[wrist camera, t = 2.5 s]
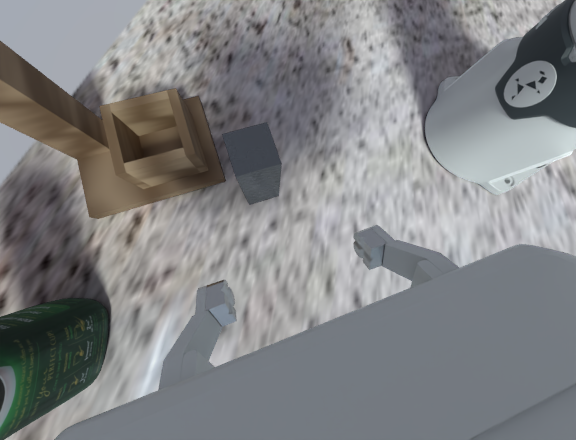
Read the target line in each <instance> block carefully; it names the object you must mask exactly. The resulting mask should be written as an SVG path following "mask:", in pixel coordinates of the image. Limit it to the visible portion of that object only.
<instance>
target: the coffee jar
mask: <svg viewBox="0 0 576 440" xmlns="http://www.w3.org/2000/svg"><path fill="white" fill-rule="evenodd" d="M107 339H108V313H107V311H106V308H105V307H104V306H103V305H102V304H100V303H99V302H97V301H95V300H91V299H85V298H67V299H60V300H55V301H51V302H47V303H43V304H40V305H36V306H33V307H30V308H26V309H23V310H20V311H17V312H14V313H11V314H8V315H5V316H2V317H0V440H4V439H6V438H7V437H9V436H11V435H12V434H14V433H15V432H17V431H18V430H20V429H22V428H23V427H25V426H26V425H28V424H30V423H31V422H33V421H35V420H36V419H38V418H40V417H41V416H43V415H45V414H46V413H48V412H50V411H51V410H53V409H54V408H56V407H58V406H59V405H61V404H63V403H64V402H66V401H67V400H69V399H71V398H72V397H74V396H75V395H77V394H78V393H80V392H81V391H83V390H84V389H86V388H87V387H88V386H89V385H91V384H92V383H93V382H94V380H95V379H96V378H97V376H98V375H99V373H100V371H101V368H102V365H103V361H104V357H105V353H106V348H107Z"/></svg>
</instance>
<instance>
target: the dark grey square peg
mask: <svg viewBox="0 0 576 440" xmlns="http://www.w3.org/2000/svg"><path fill="white" fill-rule="evenodd" d="M222 135H223V139H224V142H225V145H226V148H227V151H228V154H229V157H230V161H231V164H232V167H233V170H234V173H235V176H236V178H237V181H238V183H239V185H240V187H241V189H242V191H243V193H244V195H245V197H246V199H247V201H248V203H249V205H251V204H254V203H257V202H261V201H264V200H267V199H270V198H273V197H277V196H279V187H280V175H281V164H282V163H281V161H280V158H279V155H278V152H277V149H276V147H275V144H274V141H273V138H272V135H271V132H270V130H269V127H268V124H267V122H266V123H262V124H259V125H255V126H251V127H247V128H244V129H240V130H236V131H232V132H229V133H225V134H222Z"/></svg>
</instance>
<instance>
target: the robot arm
mask: <svg viewBox="0 0 576 440" xmlns="http://www.w3.org/2000/svg"><path fill="white" fill-rule="evenodd" d="M425 134H426V139H427V143H428V145H429V148H430V150H431V152H432V153H433V155H434V156H435V158H436V159H437V161H438V162H439V163H440V164H441V165H442V166H443V167H444V168H445V169H447V170H448V171H449V172H451V173H452V174H454V175H456V176H458V177H460V178H462V179H465V180H469V181H472V182H475V183H478V184H480V185H481V186H482V187H484V188H485V189H486V190H488V191H489V192H491V193H493V194H496V195H499V194H502V193H505V192H507V191H509V190H510V189H512V188H513V187H515V186H516V185H518V184H520V183H521V182H523V181H524V180H526V179H527V178H529V177H530V176H532V175H533V174H535V173H536V172H538V171H539V170H541V169H543V168H544V167H546V166H547V165H549V164H550V163H552V162H553V161H556V160H558V159H561V158H564V157H567V156H569V155H571V154H572V151H573V150H574V149H576V0H565V1H564V2H563V3H561V4H559V5H558V6H556V7H555V8H554V9H552V10H551V11H550V12H549V13H548V14H546V15H545V16H544V17H543V18H542V19H541V20H540V22H539V23H538V24H537V25H535V26H534V27H533V28H532V29H531V30H530V31H529V32H527V33H526V34H525V35H524V37H516V38H512V39H505V40H503V41H502V42H500V43H499V44H497V45H496V46H495V47H494V48H493V49H492V50H490V51H489V52H488V53H487V54H486V55H484V56H483V57H482V58H481V59H480V60H479V61H477V62H476V63H475V64H474V65H473V66H471V67H470V68H469V69H468V70H467V71H466V72H465V73H463V74H462V75H461V76H455V77H448V78H446V79H445V80H444V81H443V82H441V83H440V85H439V89H438V95H437V99H436V101H435V102H434V104H433V105H432V106H431V108H430V110H429V112H428V114H427V117H426V121H425ZM354 239H355V242H354V249H355V252H356V254H357V255H358V256H359V257H360V258H363V262H364V264H365V265H366V266H367V267H368V269H369V270H370V269H373V268H376V267H379V266H383V267H385V268H387V269H389V270H391V271H393V272H395V273H397V274H399V275H401V276H403V277H405V278H407V279H409V280H411V281H412V284H411V287H410V288H409V289H406V290H404V291H402V292H399V293H397V294H394V295H392V296H389V297H387V298H384V299H382V300H379V301H377V302H374V303H372V304H370V305H367V306H365V307H362V308H360V309H357V310H355V311H352V312H350V313H347V314H345V315H342V316H340V317H338V318H335V319H333V320H330V321H328V322H325V323H323V324H320V325H318V326H315V327H313V328H311V329H308V330H306V331H303V332H301V333H298V334H296V335H293V336H291V337H289V338H286V339H284V340H281V341H279V342H276V343H274V344H271V345H269V346H266V347H264V348H261V349H259V350H257V351H254V352H252V353H249V354H247V355H244V356H242V357H239V358H237V359H234V360H232V361H229V362H227V363H225V364H222V365H220V366H217V367H214V366H213V365H212V364H211V363H210V362H209V358H210V356H211V354H212V351H213V349H214V346H215V344H216V342H217V339H218V337H219V334H220V332H221V330H222V327H223V326H225V325H228V324H230V323H233V322H235V321H237V320H236V310H235V308H234V307H233V306H234V304H235V299H234V295H233V292H232V290H231V288H230V287H228V283H227V281H226V280H222V281H219V282H216V283H213V284H210V285H207V286H204V287H201V288H198V291H197V299H196V311H195V315H194V316H192V318H191V319H190V321H189V322H188V324H187V325H186V327H185V328H184V330H183V332H182V333H181V335H180V336H179V338H178V339H177V341H176V342H175V344H174V346H173V347H172V349H171V350H170V352H169V353H168V355H167V356H166V358H165V359H164V362H163V368H162V373H161V379H160V384H159V390H158V391H156V392H153V393H151V394H148V395H146V396H143V397H141V398H138V399H136V400H133V401H131V402H128V403H126V404H123V405H121V406H119V407H116V408H114V409H111V410H109V411H106V412H104V413H101V414H99V415H96V416H94V417H91V418H89V419H86V420H84V421H81V422H79V423H76V424H74V425H72V426H70V427H68V428H67V429H65V430H64V431H62V432H61V433H60V434H59V435H58V436H57V437H56V438H55V439H54V440H576V257H575V256H573V255H570V254H568V253H564V252H560V251H556V250H552V249H547V248H543V247H538V246H533V245H527V244H519V245H515V246H512V247H510V248H507V249H505V250H502V251H500V252H497V253H495V254H492V255H490V256H488V257H485V258H483V259H480V260H478V261H475V262H473V263H470V264H468V265H465V266H463V267H461V268H459V267H458V266H456V265H455V264H454V263H453V262H451V261H450V260H449V259H447V258H446V257H445V256H444V255H442V254H441V253H439V252H436V251H432V250H429V249H426V248H422V247H419V246H416V245H413V244H409V243H406V242H403V241H399V240H396V241H395V240H394V239H393V238H392V237H391V236H390V235H388V234H387V233H386V232H385V231H384V230H383V229H382V228H381V227H379V226H378V225H375V226H373V227H370V228H367V229H364V230H362V231H359V232H356V233H354Z"/></svg>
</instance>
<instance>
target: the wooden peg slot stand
mask: <svg viewBox="0 0 576 440" xmlns="http://www.w3.org/2000/svg"><path fill="white" fill-rule="evenodd" d="M99 107H100V111H101V115H102V119H100V118H99V117H97V116H96V115H95V114H94V113H92V112H91V111H90V110H88V109H87V108H86V107H85V106H83V105H82V104H81V103H79V102H78V101H77V100H76V99H74V98H73V97H72V96H71V95H69V94H68V93H67V92H65V91H64V90H63V89H62V88H60V87H59V86H58V85H56V84H55V83H54V82H52V81H51V80H50V79H49V78H47V77H46V76H45V75H44V74H42V73H41V72H40V71H38V70H37V69H36V68H35V67H33V66H32V65H31V64H29V63H28V62H27V61H25V60H24V59H23V58H22V57H21V56H19V55H18V54H16V53H15V52H14V51H13V50H12V49H10V48H9V47H8V46H6V45H5V44H4V43H2V42H1V41H0V122H1V123H3V124H5V125H7V126H9V127H11V128H13V129H15V130H17V131H19V132H21V133H23V134H26V135H28V136H30V137H32V138H34V139H36V140H38V141H40V142H42V143H44V144H46V145H48V146H50V147H52V148H55V149H57V150H59V151H61V152H63V153H65V154H67V155H69V156H71V157H73V158H75V159H77V161H78V165H79V170H80V175H81V180H82V184H83V189H84V194H85V198H86V203H87V208H88V213H89V217H91V218H96V219H99V218H102V217H106V216H109V215H113V214H116V213H119V212H123V211H126V210H130V209H133V208H136V207H140V206H143V205H147V204H150V203H153V202H157V201H160V200H164V199H167V198H170V197H174V196H177V195H181V194H184V193H187V192H191V191H194V190H198V189H201V188H204V187H208V186H211V185H215V184H218V183H221V182H225V181H226V180H225V177H224V174H223V171H222V168H221V164H220V161H219V158H218V155H217V152H216V148H215V145H214V142H213V139H212V135H211V132H210V129H209V126H208V123H207V119H206V116H205V113H204V110H203V107H202V103H201V101H200V99H199V97H198V96H196V97H192V98H188V99H184V100H183V99H182V98H181V96H180V94H179V93H178V91H177V89H176V88H174V89H170V90H166V91H162V92H157V93H153V94H149V95H144V96H140V97H136V98H132V99H127V100H123V101H119V102H115V103H110V104H106V105H102V106H99Z"/></svg>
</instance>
